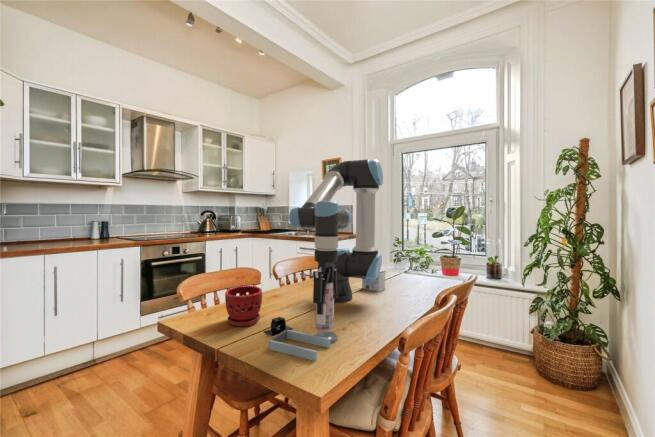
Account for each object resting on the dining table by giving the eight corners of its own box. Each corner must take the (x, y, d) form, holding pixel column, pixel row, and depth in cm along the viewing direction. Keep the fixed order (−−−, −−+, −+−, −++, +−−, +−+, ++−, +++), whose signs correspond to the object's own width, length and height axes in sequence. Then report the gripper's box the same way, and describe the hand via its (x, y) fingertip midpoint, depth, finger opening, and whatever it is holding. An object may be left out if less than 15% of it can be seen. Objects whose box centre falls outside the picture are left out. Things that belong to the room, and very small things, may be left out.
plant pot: (219, 321, 110) (219, 289, 110) (252, 313, 119) (252, 283, 118) (233, 332, 100) (233, 297, 100) (268, 323, 109) (268, 290, 108)
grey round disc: (319, 331, 101) (319, 329, 101) (341, 336, 98) (341, 334, 98) (308, 340, 94) (308, 338, 94) (331, 345, 91) (331, 343, 91)
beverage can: (323, 324, 100) (324, 280, 100) (336, 328, 96) (336, 283, 96) (311, 329, 96) (312, 283, 96) (324, 334, 92) (325, 286, 92)
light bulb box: (361, 288, 159) (361, 268, 159) (368, 286, 164) (368, 266, 164) (379, 292, 152) (379, 271, 152) (385, 289, 157) (385, 269, 157)
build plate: (268, 340, 95) (268, 326, 95) (256, 333, 101) (256, 320, 100) (298, 329, 104) (298, 317, 104) (286, 324, 109) (286, 311, 109)
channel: (286, 336, 97) (286, 329, 97) (330, 346, 90) (330, 338, 90) (268, 348, 88) (268, 340, 88) (315, 361, 82) (315, 352, 81)
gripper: (328, 245, 105) (327, 310, 106) (301, 251, 89) (300, 328, 89) (347, 246, 102) (346, 313, 103) (323, 253, 85) (323, 333, 86)
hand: (325, 320), depth 96 cm, fingers closed on beverage can, 6 cm apart
